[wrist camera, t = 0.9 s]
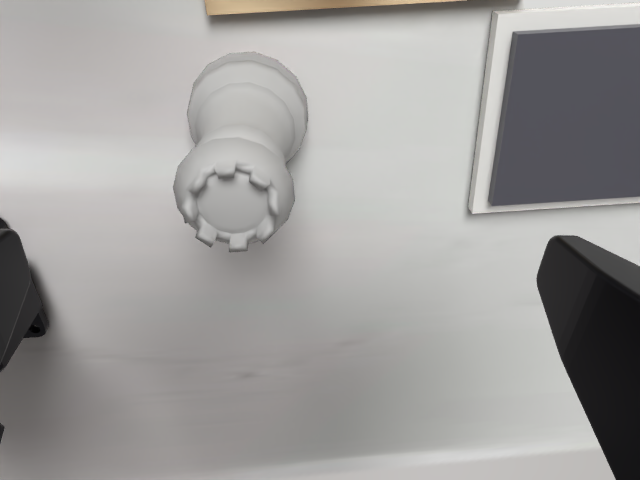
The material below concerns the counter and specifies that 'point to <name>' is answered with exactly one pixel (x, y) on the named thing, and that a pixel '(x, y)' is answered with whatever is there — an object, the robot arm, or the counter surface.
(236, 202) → the rook chess piece
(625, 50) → the ink pad
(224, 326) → the counter surface
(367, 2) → the print board
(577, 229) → the counter surface
